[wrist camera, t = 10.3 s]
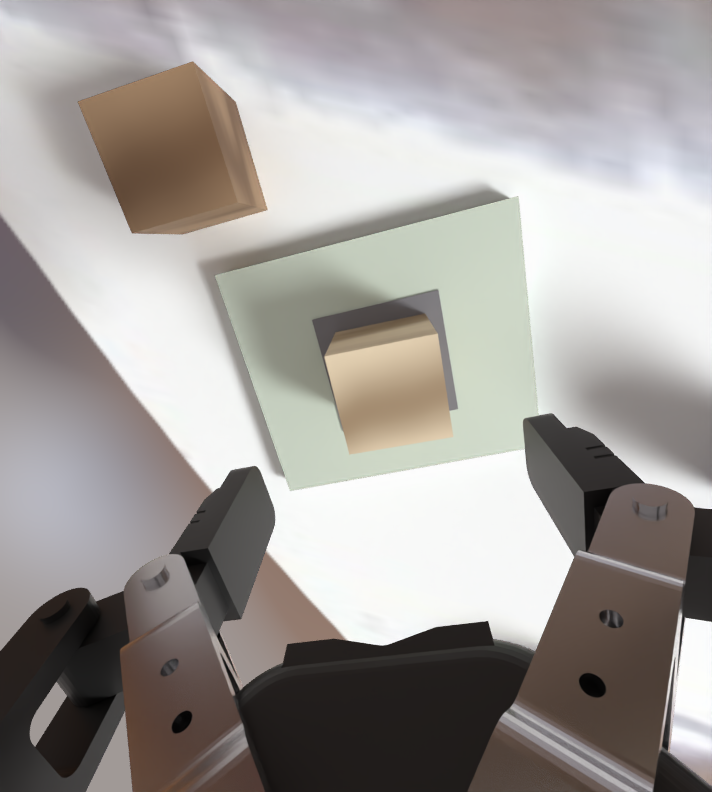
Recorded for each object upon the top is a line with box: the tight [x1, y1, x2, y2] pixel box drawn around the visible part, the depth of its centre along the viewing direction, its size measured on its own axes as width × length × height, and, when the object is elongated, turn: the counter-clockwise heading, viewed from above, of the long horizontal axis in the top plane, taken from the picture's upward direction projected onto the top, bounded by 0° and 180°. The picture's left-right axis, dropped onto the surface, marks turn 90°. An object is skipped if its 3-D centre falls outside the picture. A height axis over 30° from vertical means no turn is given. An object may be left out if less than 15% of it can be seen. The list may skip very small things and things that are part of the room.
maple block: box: [324, 314, 453, 455], centre depth 21 cm, size 5×5×5 cm
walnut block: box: [78, 62, 267, 234], centre depth 19 cm, size 5×5×5 cm
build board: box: [215, 196, 539, 491], centre depth 24 cm, size 14×16×1 cm
